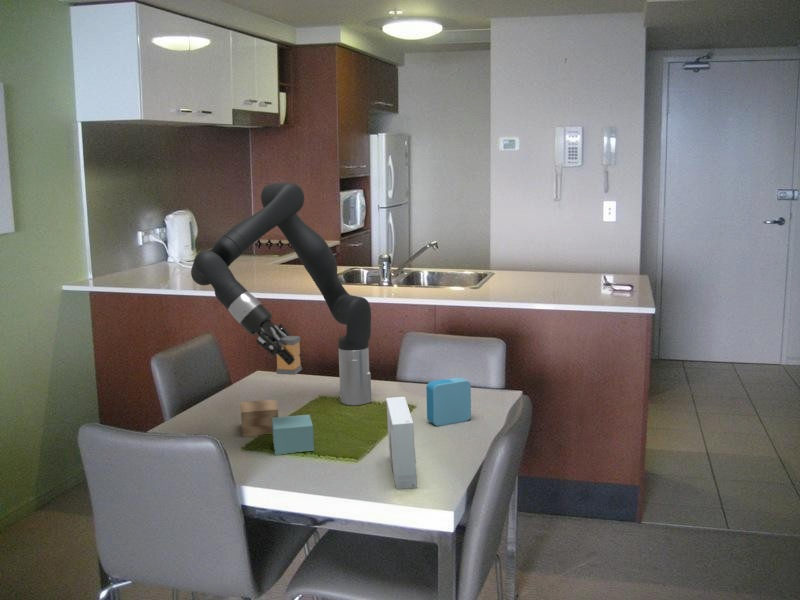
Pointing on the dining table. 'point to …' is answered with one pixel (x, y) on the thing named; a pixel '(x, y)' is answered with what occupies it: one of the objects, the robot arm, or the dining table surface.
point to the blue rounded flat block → (448, 401)
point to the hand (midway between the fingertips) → (295, 359)
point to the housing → (294, 349)
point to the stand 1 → (258, 417)
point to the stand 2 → (292, 434)
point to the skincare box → (401, 443)
